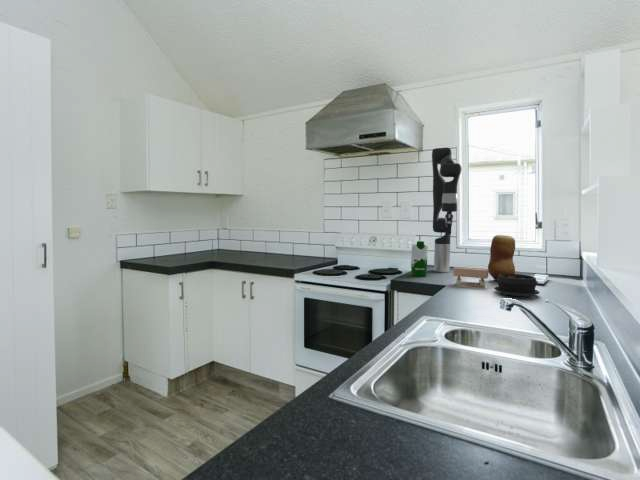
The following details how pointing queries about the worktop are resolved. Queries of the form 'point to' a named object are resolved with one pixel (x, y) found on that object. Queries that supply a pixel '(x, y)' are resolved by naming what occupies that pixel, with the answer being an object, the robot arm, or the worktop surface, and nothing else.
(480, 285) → the rack
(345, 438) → the worktop surface
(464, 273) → the brown wooden block
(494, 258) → the butternut squash
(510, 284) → the casserole
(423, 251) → the milk carton
